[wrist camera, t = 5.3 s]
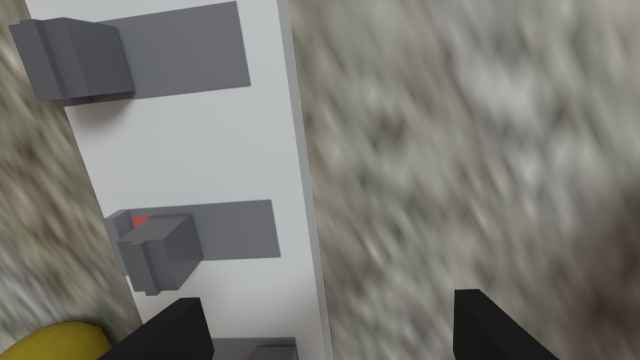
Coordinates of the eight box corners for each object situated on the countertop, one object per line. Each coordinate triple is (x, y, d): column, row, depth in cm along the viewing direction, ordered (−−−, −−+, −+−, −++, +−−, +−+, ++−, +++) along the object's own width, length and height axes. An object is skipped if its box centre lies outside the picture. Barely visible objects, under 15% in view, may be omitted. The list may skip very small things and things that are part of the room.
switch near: (70, 33, 12) (-2, 24, 10) (116, 26, 12) (54, 15, 10) (91, 96, 13) (29, 102, 11) (135, 90, 13) (82, 96, 10)
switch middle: (152, 215, 15) (110, 245, 12) (191, 213, 15) (158, 243, 12) (165, 259, 16) (129, 296, 13) (203, 257, 15) (174, 295, 13)
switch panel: (70, -10, 15) (-15, -34, 11) (281, -46, 13) (258, -85, 10) (190, 366, 22) (161, 420, 19) (334, 366, 21) (331, 424, 17)
